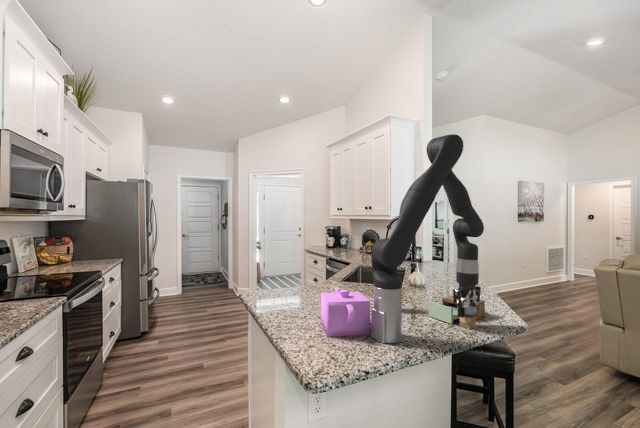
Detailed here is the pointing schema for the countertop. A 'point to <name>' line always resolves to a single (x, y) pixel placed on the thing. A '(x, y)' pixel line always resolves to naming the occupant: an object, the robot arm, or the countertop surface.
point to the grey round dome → (469, 309)
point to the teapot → (345, 313)
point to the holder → (479, 307)
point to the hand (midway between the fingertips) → (466, 315)
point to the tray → (443, 312)
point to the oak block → (468, 321)
